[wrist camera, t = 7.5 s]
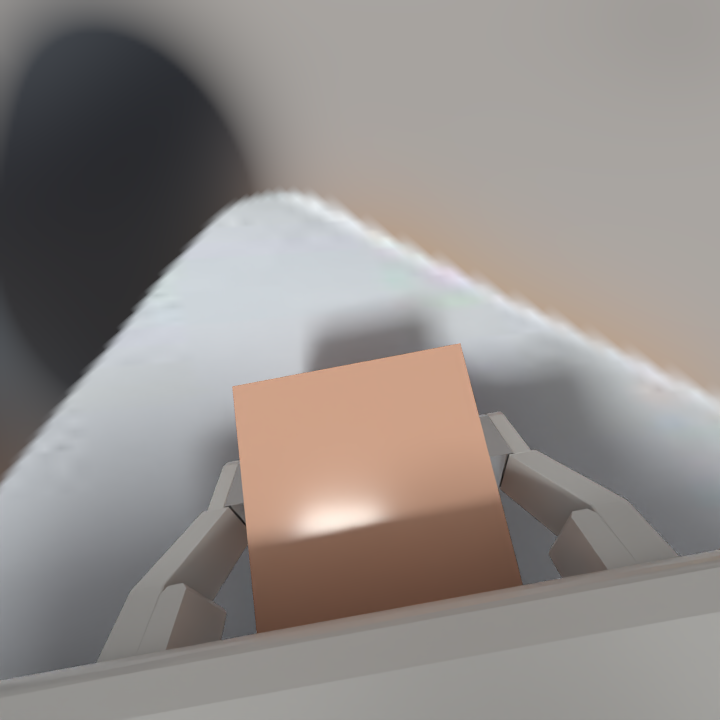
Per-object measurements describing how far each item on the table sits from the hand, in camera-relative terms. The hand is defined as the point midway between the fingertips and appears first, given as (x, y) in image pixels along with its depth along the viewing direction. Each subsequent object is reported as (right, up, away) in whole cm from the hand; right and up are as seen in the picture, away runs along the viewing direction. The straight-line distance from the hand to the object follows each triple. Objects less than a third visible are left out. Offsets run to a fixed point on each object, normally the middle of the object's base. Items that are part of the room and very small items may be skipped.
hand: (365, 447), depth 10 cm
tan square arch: (0, -1, +5) cm, 5 cm away
